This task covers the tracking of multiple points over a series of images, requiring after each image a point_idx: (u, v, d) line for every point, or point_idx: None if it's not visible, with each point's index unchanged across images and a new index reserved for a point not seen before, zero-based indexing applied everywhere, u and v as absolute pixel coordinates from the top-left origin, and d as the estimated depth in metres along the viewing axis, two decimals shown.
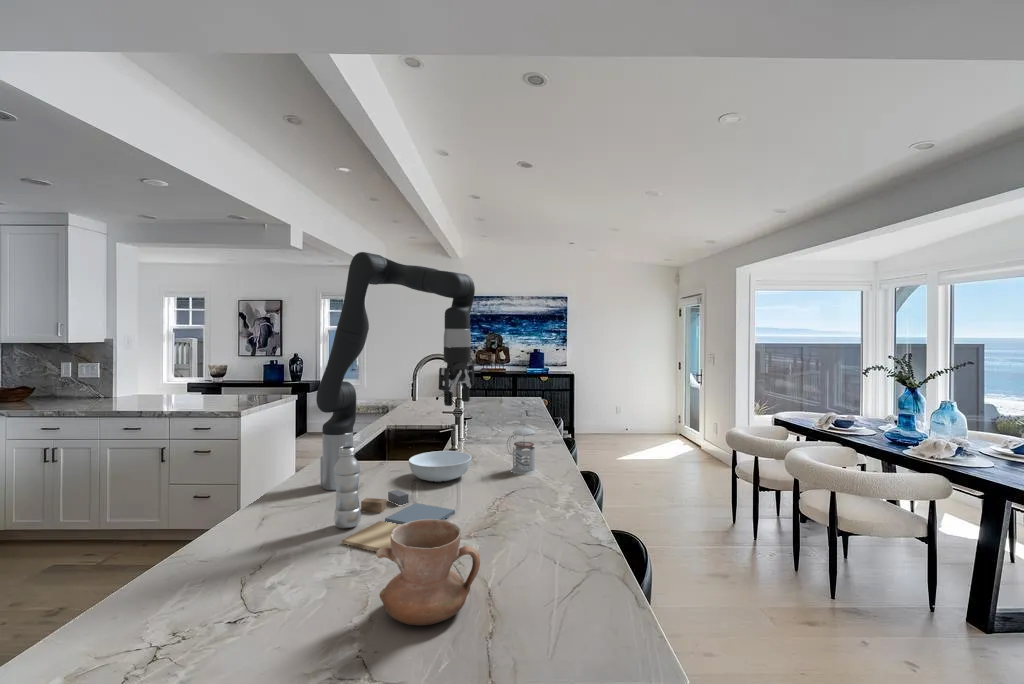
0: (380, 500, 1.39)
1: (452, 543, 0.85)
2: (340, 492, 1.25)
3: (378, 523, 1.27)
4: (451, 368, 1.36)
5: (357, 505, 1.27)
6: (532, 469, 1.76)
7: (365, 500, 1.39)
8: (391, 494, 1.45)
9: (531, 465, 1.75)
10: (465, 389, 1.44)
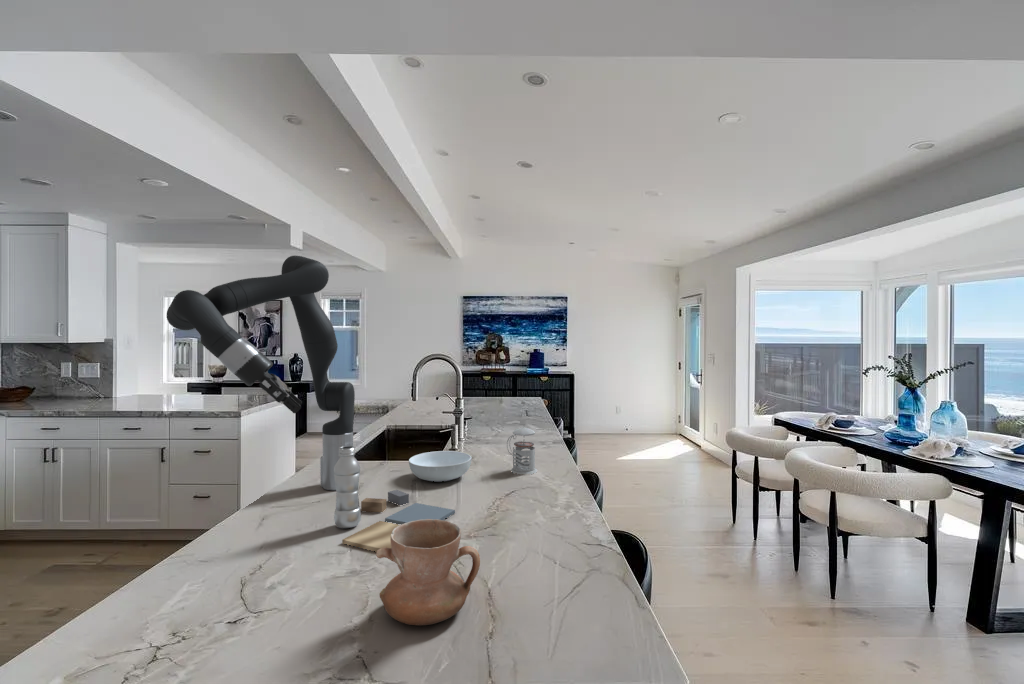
0: (380, 500, 1.39)
1: (452, 543, 0.85)
2: (340, 492, 1.25)
3: (378, 523, 1.27)
4: None
5: (357, 505, 1.27)
6: (532, 469, 1.76)
7: (365, 500, 1.39)
8: (391, 494, 1.45)
9: (531, 465, 1.75)
10: None
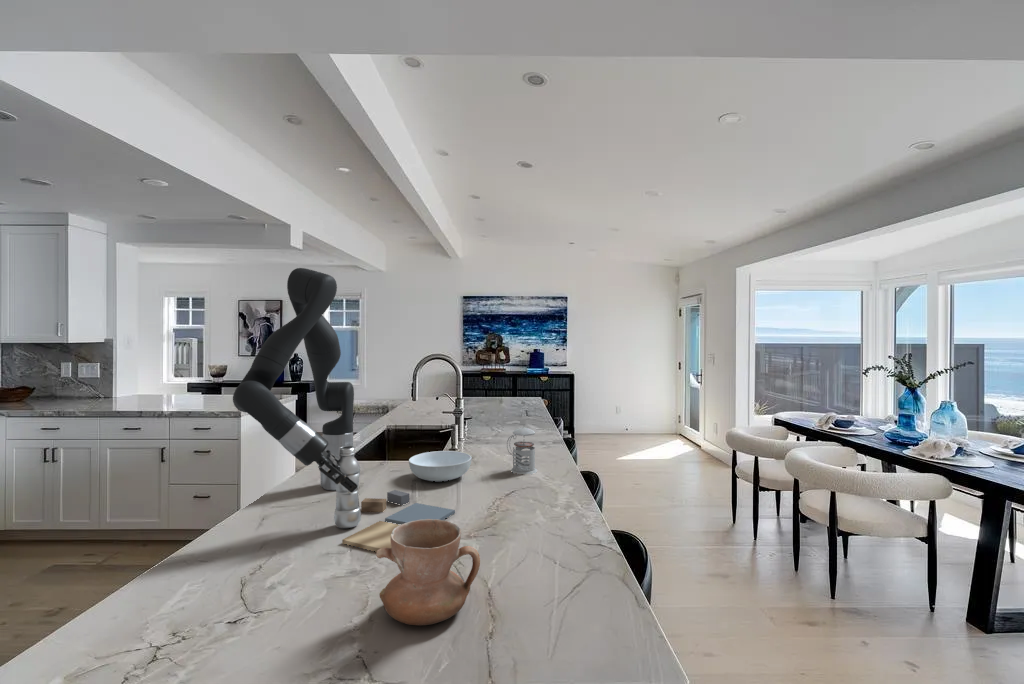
0: (380, 500, 1.39)
1: (452, 543, 0.85)
2: (340, 492, 1.25)
3: (378, 523, 1.27)
4: None
5: (357, 505, 1.27)
6: (532, 469, 1.76)
7: (365, 500, 1.38)
8: (391, 494, 1.45)
9: (531, 465, 1.75)
10: None
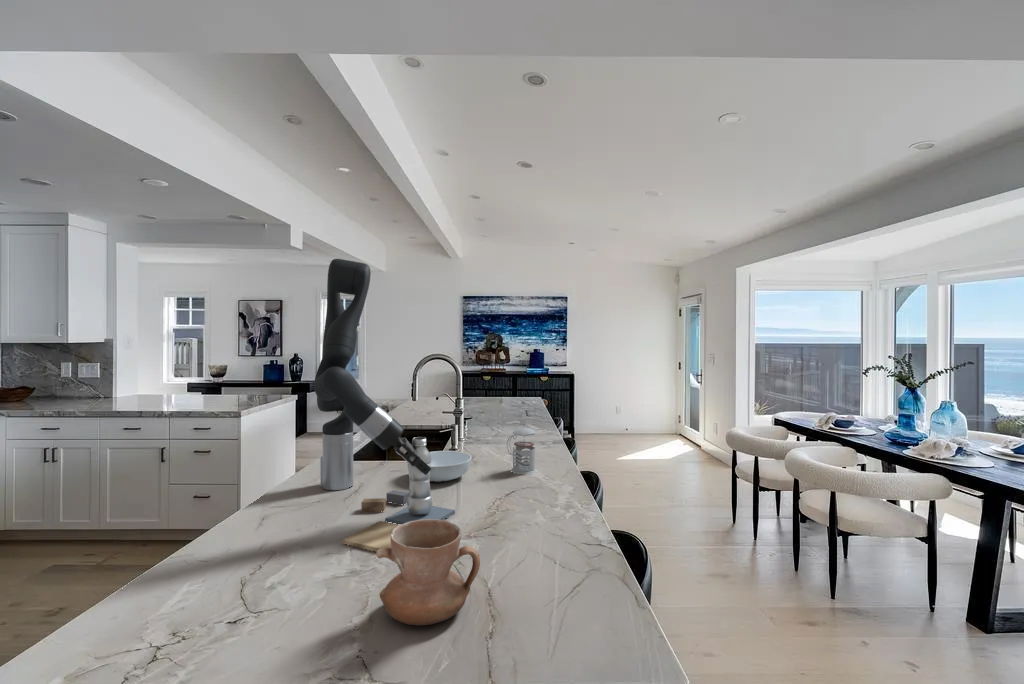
0: (380, 499, 1.39)
1: (452, 543, 0.85)
2: (414, 480, 1.31)
3: (378, 523, 1.27)
4: None
5: (429, 493, 1.33)
6: (532, 469, 1.76)
7: (365, 501, 1.38)
8: (391, 495, 1.44)
9: (531, 465, 1.75)
10: None
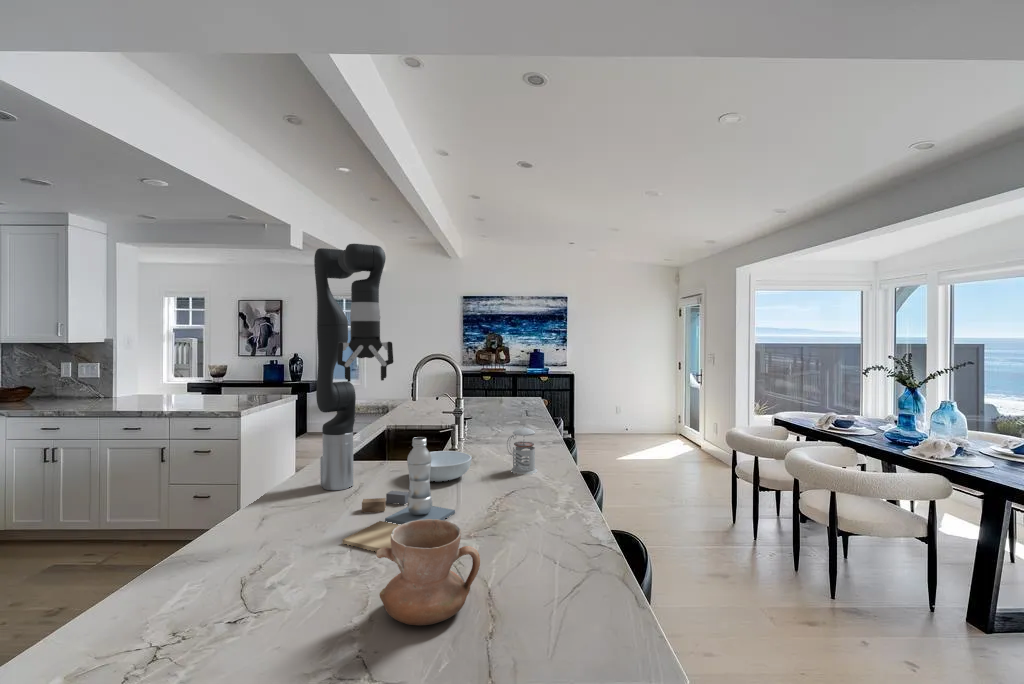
0: (380, 499, 1.39)
1: (452, 543, 0.85)
2: (414, 480, 1.31)
3: (378, 523, 1.27)
4: (349, 343, 1.32)
5: (429, 493, 1.33)
6: (532, 469, 1.76)
7: (365, 501, 1.38)
8: (391, 495, 1.44)
9: (531, 465, 1.75)
10: (381, 367, 1.35)
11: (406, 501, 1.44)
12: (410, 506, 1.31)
